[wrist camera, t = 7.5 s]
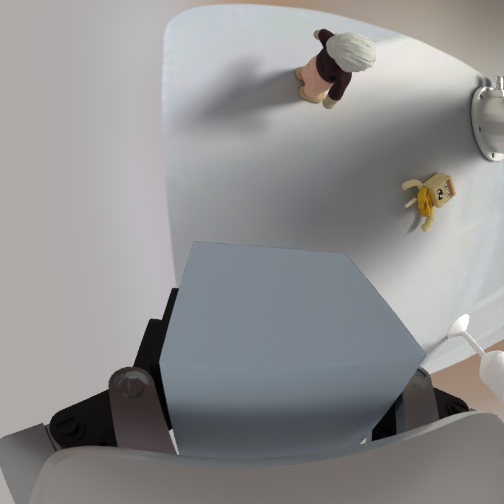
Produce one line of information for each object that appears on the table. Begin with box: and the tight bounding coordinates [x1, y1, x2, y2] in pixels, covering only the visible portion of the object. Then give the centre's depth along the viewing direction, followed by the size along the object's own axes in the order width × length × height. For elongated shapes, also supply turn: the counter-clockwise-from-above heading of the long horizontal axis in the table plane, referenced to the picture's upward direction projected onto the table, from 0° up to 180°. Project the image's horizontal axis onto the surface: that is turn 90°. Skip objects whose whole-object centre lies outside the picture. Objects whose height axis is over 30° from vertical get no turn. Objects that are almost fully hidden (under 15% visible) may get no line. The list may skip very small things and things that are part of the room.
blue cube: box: [159, 242, 426, 458], centre depth 9 cm, size 6×6×6 cm
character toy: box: [401, 172, 456, 232], centre depth 29 cm, size 8×3×8 cm
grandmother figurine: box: [295, 29, 376, 109], centre depth 18 cm, size 8×4×13 cm, turn 18°
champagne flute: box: [447, 314, 504, 404], centre depth 31 cm, size 7×7×24 cm
